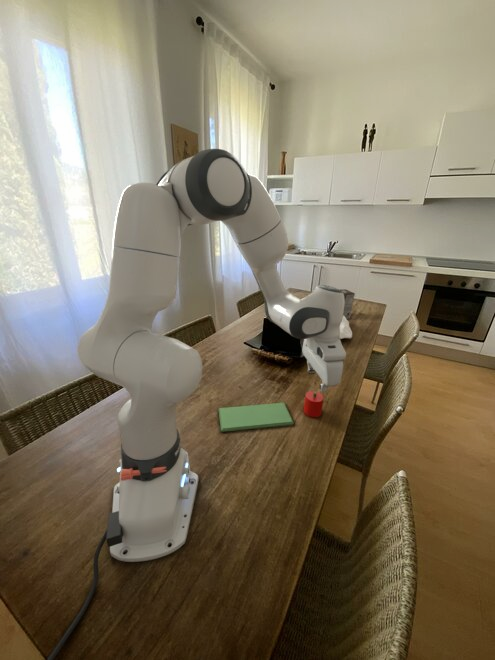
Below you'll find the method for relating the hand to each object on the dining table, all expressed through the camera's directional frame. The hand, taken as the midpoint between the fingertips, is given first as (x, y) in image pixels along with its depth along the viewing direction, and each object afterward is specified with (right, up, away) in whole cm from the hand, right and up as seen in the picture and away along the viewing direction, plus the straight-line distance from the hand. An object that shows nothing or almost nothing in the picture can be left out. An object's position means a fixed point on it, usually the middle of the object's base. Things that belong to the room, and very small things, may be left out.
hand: (316, 381), depth 86 cm
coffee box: (+37, +24, +88) cm, 98 cm away
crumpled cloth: (+23, +14, +64) cm, 69 cm away
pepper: (0, -11, +4) cm, 11 cm away
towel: (-19, -11, +1) cm, 22 cm away
